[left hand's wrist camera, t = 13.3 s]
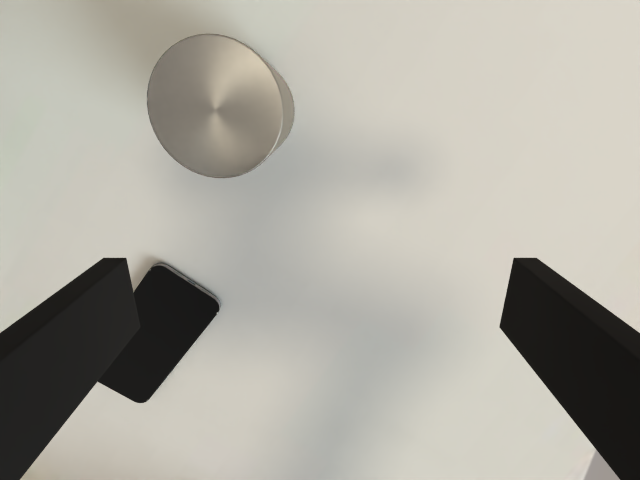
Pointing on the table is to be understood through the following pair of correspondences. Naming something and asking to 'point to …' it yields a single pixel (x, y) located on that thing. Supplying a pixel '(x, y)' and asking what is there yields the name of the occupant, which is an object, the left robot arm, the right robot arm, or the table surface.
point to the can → (218, 106)
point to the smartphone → (160, 332)
